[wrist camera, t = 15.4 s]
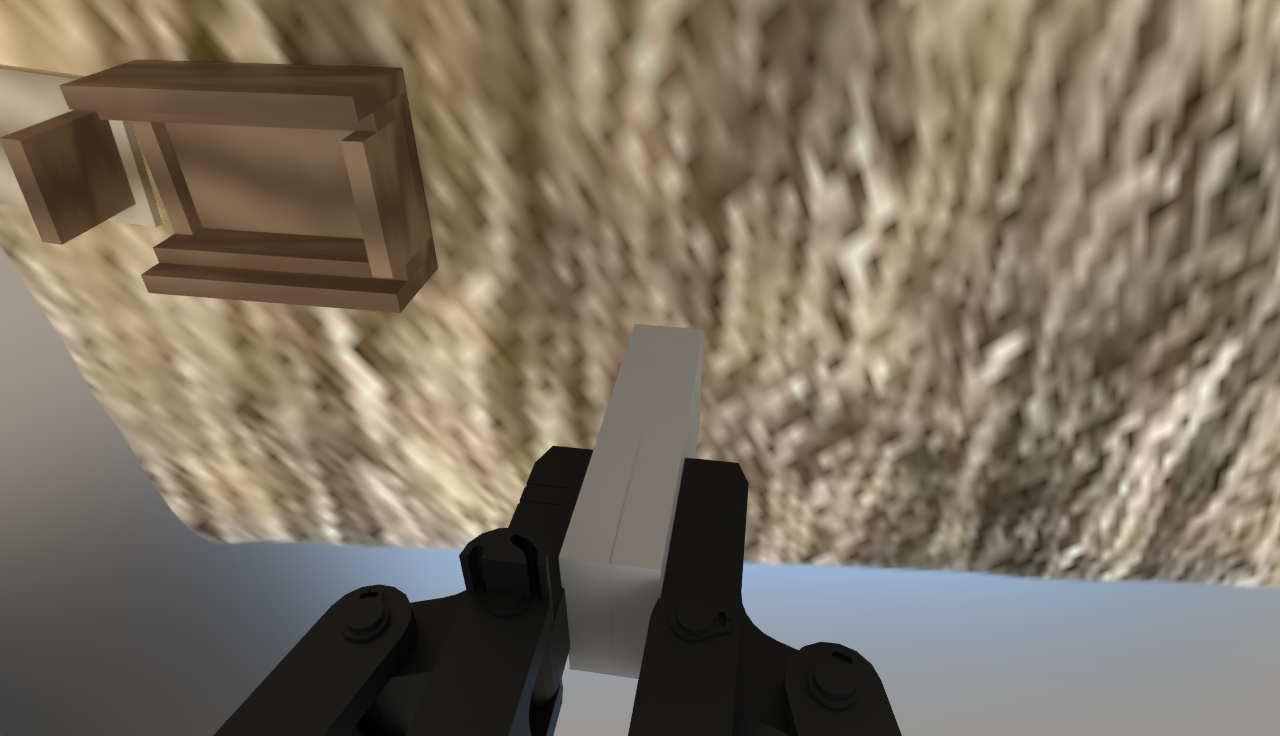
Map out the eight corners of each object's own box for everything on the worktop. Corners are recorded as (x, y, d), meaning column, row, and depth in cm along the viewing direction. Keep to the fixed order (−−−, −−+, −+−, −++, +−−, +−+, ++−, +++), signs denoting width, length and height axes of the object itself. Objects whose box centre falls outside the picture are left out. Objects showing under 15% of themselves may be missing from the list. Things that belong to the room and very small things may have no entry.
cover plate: (-78, 51, 45) (-202, 81, 40) (123, 79, 44) (24, 114, 38) (-15, 193, 50) (-116, 237, 45) (166, 221, 49) (85, 270, 44)
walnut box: (136, 59, 43) (58, 85, 38) (401, 68, 41) (352, 96, 36) (207, 251, 50) (148, 292, 45) (437, 267, 47) (400, 312, 43)
